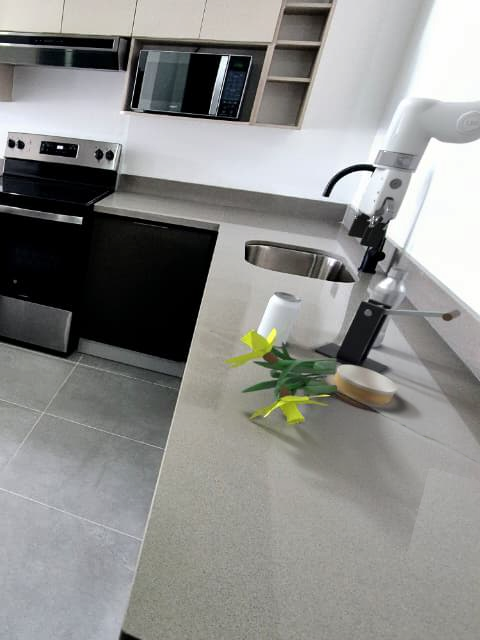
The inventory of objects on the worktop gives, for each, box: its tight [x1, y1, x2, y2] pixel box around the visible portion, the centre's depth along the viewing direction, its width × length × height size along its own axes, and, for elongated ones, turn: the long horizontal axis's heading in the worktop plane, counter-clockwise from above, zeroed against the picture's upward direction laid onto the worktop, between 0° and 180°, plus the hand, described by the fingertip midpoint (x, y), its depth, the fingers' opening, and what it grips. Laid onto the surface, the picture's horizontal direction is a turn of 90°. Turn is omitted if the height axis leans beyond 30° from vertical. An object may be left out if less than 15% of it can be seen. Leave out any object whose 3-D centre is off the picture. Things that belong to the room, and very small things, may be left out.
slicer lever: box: [377, 305, 461, 322], centre depth 104 cm, size 15×6×2 cm, turn 36°
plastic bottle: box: [370, 266, 410, 349], centre depth 122 cm, size 6×7×20 cm
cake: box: [330, 364, 398, 414], centre depth 101 cm, size 14×14×4 cm
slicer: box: [314, 298, 392, 374], centre depth 112 cm, size 12×9×15 cm
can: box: [256, 291, 302, 348], centre depth 117 cm, size 6×6×12 cm
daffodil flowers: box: [222, 318, 338, 426], centre depth 89 cm, size 17×15×35 cm
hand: (361, 241), depth 112 cm, fingers open, 9 cm apart
